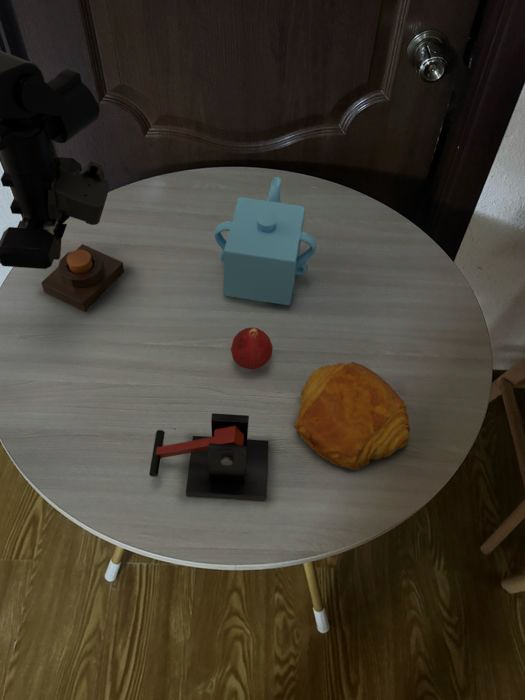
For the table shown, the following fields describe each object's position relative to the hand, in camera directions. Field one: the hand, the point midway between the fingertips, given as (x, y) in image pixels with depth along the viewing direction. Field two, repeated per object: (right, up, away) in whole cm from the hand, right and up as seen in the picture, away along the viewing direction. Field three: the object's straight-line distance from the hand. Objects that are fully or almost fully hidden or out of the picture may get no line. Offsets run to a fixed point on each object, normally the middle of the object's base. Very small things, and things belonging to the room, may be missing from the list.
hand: (56, 257), depth 85 cm
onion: (+27, -15, +5) cm, 31 cm away
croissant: (+40, -23, 0) cm, 46 cm away
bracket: (+24, -28, -5) cm, 37 cm away
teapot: (+29, +1, +17) cm, 34 cm away
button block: (0, -2, +13) cm, 13 cm away
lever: (+21, -25, -9) cm, 34 cm away
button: (0, 0, +10) cm, 10 cm away
